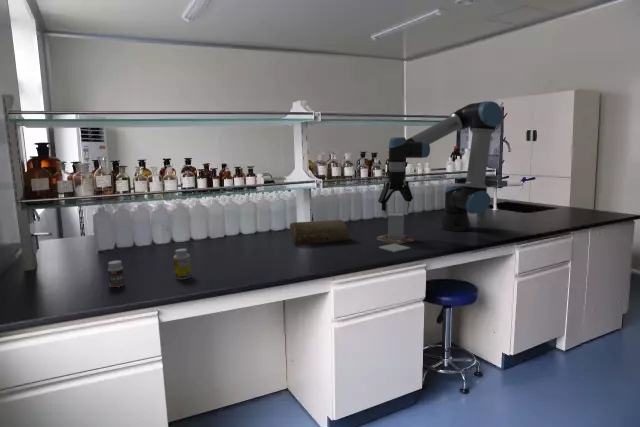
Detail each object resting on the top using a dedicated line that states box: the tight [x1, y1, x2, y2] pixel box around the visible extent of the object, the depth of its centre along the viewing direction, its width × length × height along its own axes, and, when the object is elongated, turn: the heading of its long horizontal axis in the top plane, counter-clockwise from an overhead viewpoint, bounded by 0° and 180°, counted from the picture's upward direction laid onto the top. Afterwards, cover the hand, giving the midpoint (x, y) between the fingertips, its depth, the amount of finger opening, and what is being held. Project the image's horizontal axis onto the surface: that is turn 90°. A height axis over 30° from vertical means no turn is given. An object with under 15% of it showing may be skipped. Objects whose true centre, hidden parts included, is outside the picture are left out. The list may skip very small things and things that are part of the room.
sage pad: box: [378, 243, 411, 253], centre depth 188 cm, size 10×10×1 cm
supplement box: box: [387, 212, 405, 241], centre depth 202 cm, size 7×7×13 cm
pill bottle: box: [107, 259, 125, 288], centre depth 144 cm, size 5×5×8 cm
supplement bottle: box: [173, 248, 192, 280], centre depth 152 cm, size 6×6×10 cm
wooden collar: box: [376, 234, 416, 245], centre depth 203 cm, size 13×13×2 cm
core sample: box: [289, 219, 350, 246], centre depth 202 cm, size 14×26×10 cm, turn 108°
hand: (395, 216), depth 201 cm, fingers open, 13 cm apart
